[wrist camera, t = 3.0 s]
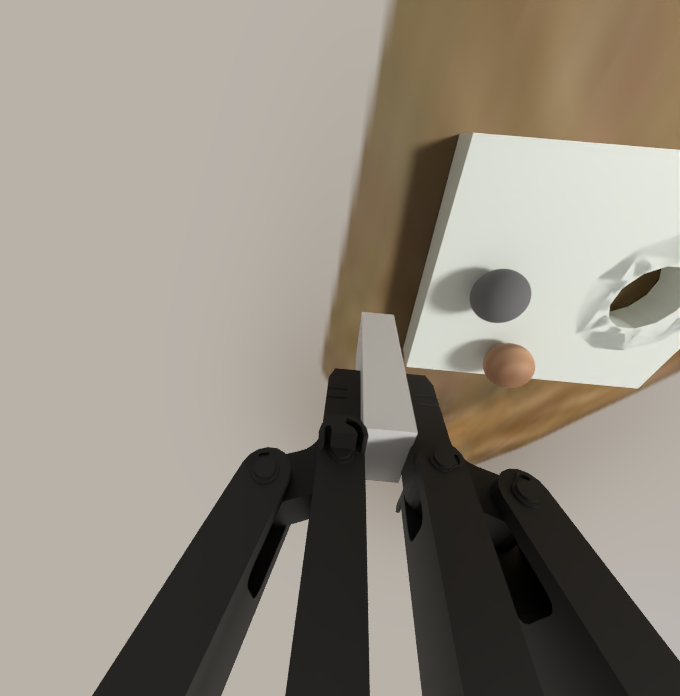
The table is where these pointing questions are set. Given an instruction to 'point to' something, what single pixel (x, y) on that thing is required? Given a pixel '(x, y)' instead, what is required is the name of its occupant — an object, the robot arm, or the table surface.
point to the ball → (500, 295)
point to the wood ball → (509, 365)
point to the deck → (554, 258)
